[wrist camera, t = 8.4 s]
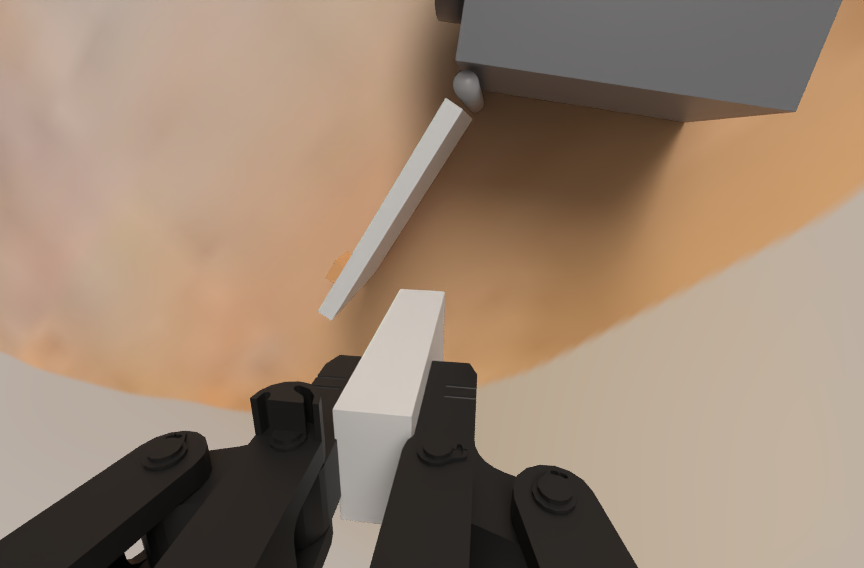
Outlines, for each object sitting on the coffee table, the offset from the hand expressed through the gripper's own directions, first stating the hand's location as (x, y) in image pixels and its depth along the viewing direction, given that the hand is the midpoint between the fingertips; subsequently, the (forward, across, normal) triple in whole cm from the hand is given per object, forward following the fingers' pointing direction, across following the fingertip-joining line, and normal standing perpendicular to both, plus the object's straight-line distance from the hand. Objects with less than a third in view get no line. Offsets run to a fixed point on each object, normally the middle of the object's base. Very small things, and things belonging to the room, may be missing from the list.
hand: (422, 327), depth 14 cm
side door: (+14, -2, +3) cm, 14 cm away
